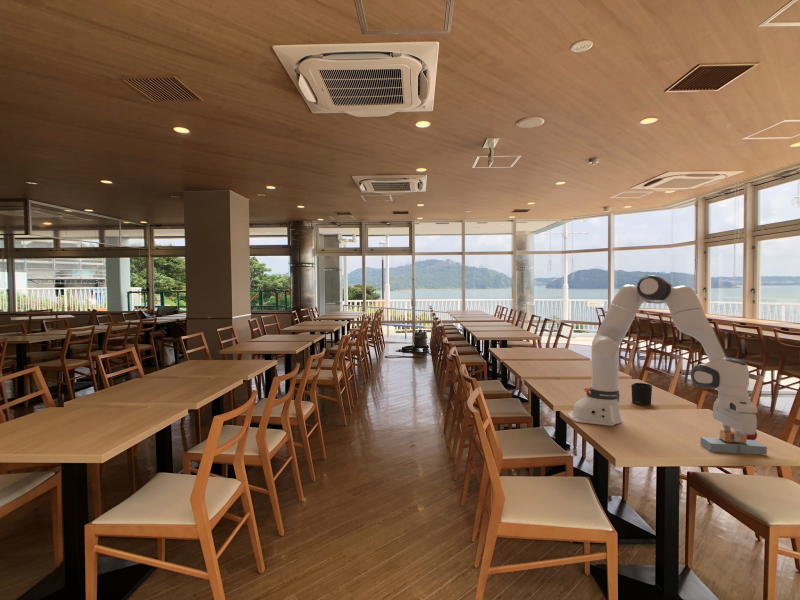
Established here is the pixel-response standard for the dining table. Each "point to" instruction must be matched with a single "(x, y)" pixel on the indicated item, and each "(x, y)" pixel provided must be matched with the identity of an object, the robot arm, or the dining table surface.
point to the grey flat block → (733, 446)
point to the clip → (731, 437)
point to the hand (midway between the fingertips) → (732, 438)
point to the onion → (752, 436)
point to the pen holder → (641, 393)
